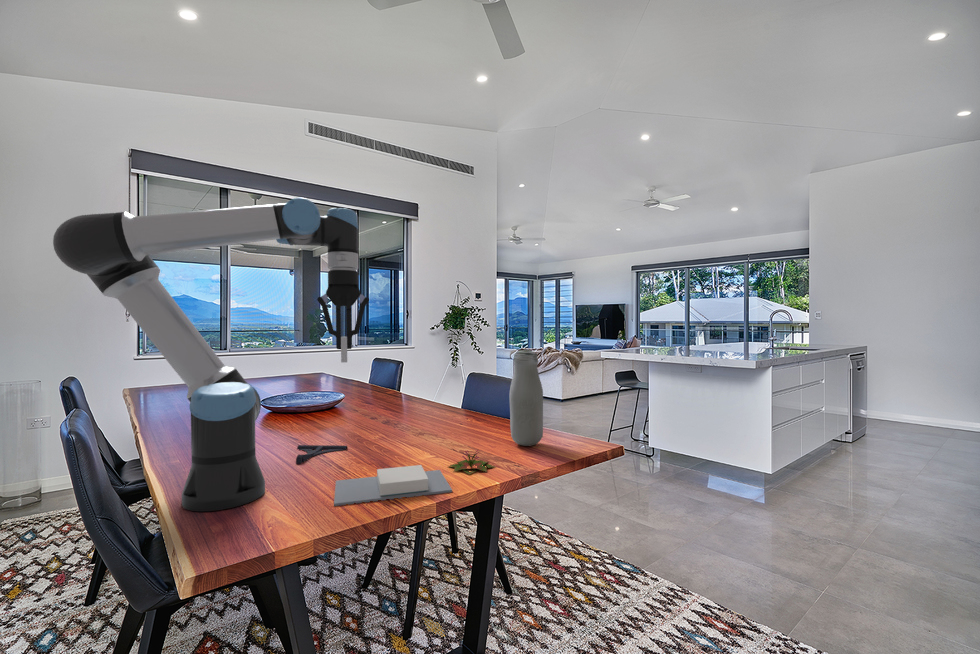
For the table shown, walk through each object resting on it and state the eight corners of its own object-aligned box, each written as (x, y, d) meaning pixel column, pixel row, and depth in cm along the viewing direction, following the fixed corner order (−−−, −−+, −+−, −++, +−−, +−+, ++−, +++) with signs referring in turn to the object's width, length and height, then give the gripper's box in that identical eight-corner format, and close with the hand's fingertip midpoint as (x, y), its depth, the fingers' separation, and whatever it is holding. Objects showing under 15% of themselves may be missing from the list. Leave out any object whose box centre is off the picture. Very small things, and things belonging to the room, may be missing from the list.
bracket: (271, 466, 120) (271, 455, 120) (299, 450, 135) (299, 440, 135) (325, 467, 119) (325, 456, 119) (347, 451, 133) (347, 441, 133)
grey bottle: (543, 440, 140) (542, 349, 140) (543, 450, 130) (543, 351, 130) (510, 440, 141) (510, 349, 141) (508, 449, 131) (508, 351, 131)
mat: (333, 506, 92) (333, 503, 91) (335, 482, 105) (335, 480, 105) (452, 492, 99) (452, 489, 99) (439, 471, 112) (439, 469, 112)
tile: (377, 481, 104) (380, 497, 95) (377, 469, 104) (380, 484, 95) (421, 476, 107) (428, 491, 98) (421, 464, 107) (428, 478, 98)
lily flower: (437, 468, 116) (437, 450, 116) (474, 459, 124) (474, 442, 124) (467, 480, 107) (467, 461, 107) (505, 469, 115) (505, 451, 115)
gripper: (315, 268, 113) (316, 364, 113) (370, 269, 117) (371, 362, 117) (317, 271, 120) (318, 361, 120) (368, 272, 124) (369, 360, 124)
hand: (344, 361), depth 119 cm, fingers closed
